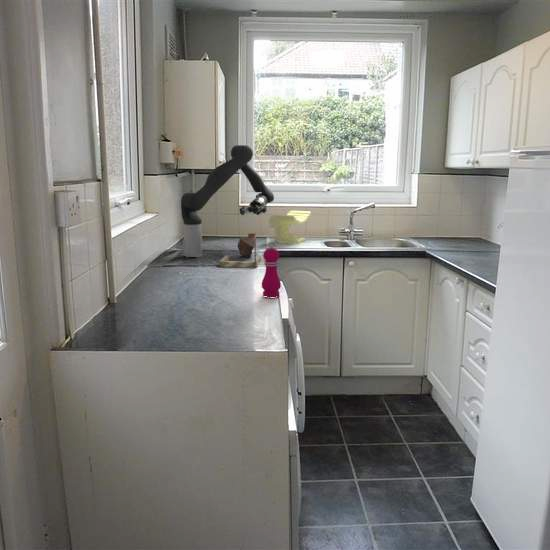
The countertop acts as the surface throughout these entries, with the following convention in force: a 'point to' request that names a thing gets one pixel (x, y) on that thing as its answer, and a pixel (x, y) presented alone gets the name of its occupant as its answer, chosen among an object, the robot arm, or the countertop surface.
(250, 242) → the rock
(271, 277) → the pepper mill
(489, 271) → the countertop surface
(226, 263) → the corral
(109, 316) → the countertop surface
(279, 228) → the slatted curved stool
